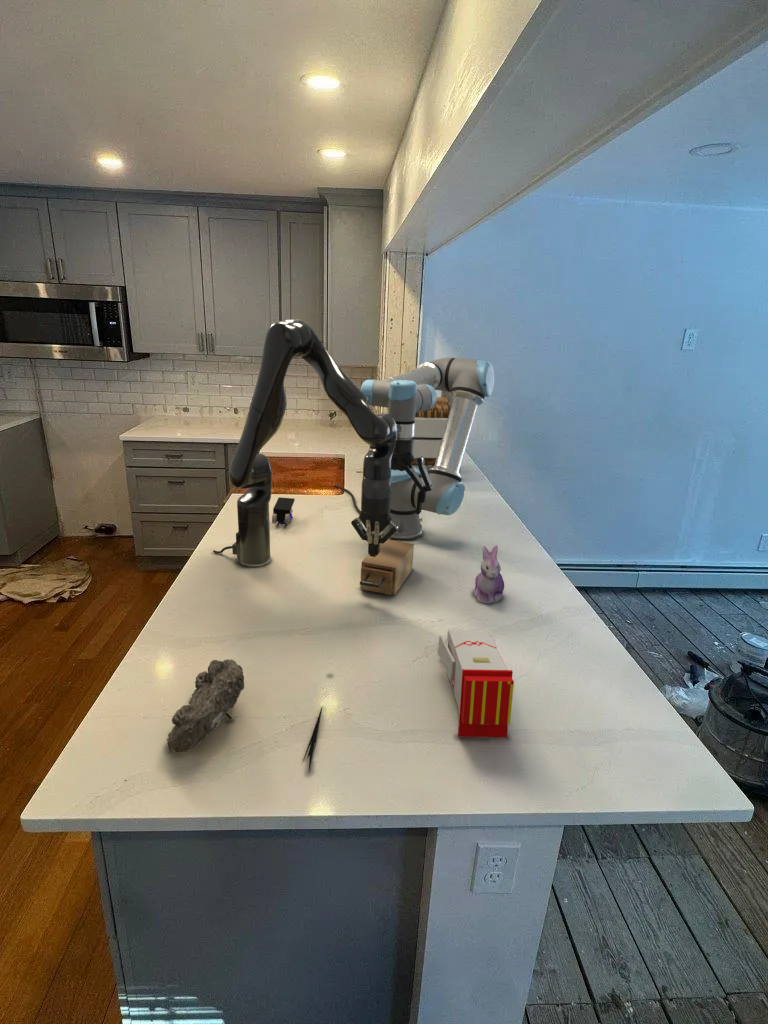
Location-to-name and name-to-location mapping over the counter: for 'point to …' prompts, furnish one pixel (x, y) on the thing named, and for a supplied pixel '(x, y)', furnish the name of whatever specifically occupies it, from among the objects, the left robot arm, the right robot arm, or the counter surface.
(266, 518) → the left robot arm
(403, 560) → the cabinet
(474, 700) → the toy
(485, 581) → the figurine
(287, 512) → the figurine character
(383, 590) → the drawer
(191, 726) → the fossil
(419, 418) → the grey tiered rack
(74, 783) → the counter surface
